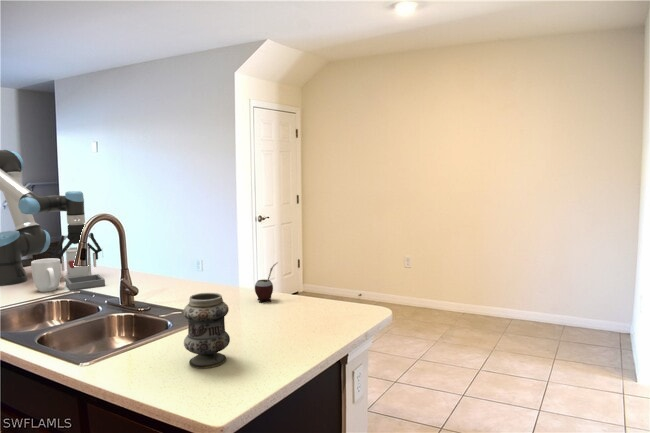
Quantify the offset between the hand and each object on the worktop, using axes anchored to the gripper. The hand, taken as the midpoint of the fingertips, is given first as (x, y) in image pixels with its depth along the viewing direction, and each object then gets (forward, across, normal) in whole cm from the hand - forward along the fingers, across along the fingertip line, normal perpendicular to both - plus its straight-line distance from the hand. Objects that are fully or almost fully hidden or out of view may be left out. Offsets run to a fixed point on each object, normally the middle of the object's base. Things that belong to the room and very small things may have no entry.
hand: (79, 268), depth 230 cm
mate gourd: (+6, +53, -87) cm, 102 cm away
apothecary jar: (+6, +12, -131) cm, 132 cm away
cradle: (+5, 0, -15) cm, 16 cm away
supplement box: (+6, 0, 0) cm, 6 cm away
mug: (+6, -15, -15) cm, 22 cm away
